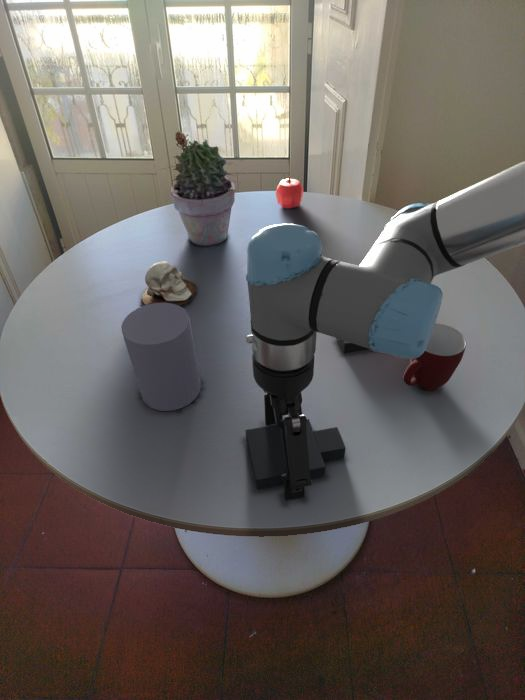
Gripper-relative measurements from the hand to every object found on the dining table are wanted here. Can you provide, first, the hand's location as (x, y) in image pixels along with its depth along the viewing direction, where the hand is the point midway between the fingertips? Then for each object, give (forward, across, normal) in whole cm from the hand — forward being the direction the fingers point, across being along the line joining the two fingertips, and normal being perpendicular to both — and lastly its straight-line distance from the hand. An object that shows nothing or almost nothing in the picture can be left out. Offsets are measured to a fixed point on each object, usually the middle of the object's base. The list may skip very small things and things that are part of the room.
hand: (283, 457), depth 70 cm
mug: (0, -9, +27) cm, 28 cm away
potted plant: (+1, -71, -3) cm, 71 cm away
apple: (+1, -84, +21) cm, 87 cm away
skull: (+1, -47, -15) cm, 49 cm away
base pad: (0, -26, +22) cm, 34 cm away
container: (0, -18, -16) cm, 24 cm away
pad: (0, 0, +2) cm, 2 cm away
